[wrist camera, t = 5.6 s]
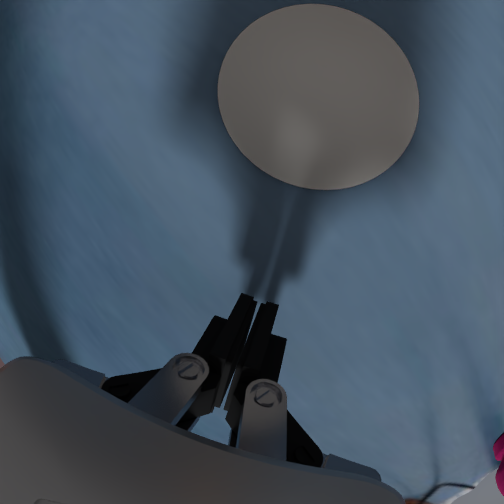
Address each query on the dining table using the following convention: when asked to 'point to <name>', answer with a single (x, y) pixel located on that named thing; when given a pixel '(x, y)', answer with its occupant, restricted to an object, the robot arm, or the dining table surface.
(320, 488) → the robot arm
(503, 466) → the pepper mill
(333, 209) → the dining table surface
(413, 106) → the plain round gray disc
